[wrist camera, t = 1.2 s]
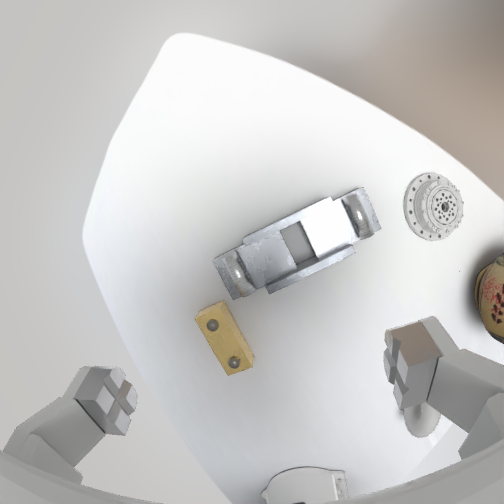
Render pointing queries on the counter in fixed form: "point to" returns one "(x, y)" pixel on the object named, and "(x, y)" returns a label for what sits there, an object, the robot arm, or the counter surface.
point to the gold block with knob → (225, 338)
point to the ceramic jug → (492, 297)
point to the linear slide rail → (278, 255)
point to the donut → (421, 419)
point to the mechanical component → (433, 206)
